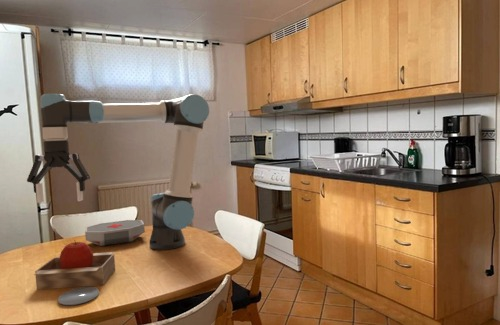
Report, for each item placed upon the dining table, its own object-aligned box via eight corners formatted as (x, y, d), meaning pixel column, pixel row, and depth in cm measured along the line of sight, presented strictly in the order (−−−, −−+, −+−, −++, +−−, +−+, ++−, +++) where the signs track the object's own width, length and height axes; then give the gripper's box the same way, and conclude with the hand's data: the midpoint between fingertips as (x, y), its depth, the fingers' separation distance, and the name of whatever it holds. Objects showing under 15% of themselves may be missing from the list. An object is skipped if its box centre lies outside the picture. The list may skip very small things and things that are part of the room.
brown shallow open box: (117, 267, 134) (116, 251, 133) (100, 288, 116) (99, 270, 115) (58, 271, 132) (57, 255, 132) (32, 292, 114) (31, 274, 114)
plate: (103, 288, 115) (103, 285, 115) (91, 304, 104) (90, 301, 104) (67, 291, 115) (67, 288, 114) (51, 307, 104) (51, 304, 103)
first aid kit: (86, 251, 155) (146, 242, 165) (85, 234, 154) (145, 226, 164) (86, 240, 171) (141, 233, 181) (85, 225, 170) (140, 218, 180)
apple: (64, 288, 117) (61, 246, 116) (58, 279, 125) (55, 239, 124) (98, 279, 123) (95, 239, 122) (90, 271, 131) (87, 233, 130)
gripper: (97, 138, 128) (101, 198, 130) (25, 141, 127) (29, 200, 129) (88, 138, 121) (92, 201, 122) (11, 141, 120) (17, 204, 121)
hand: (60, 201), depth 126 cm, fingers open, 13 cm apart
